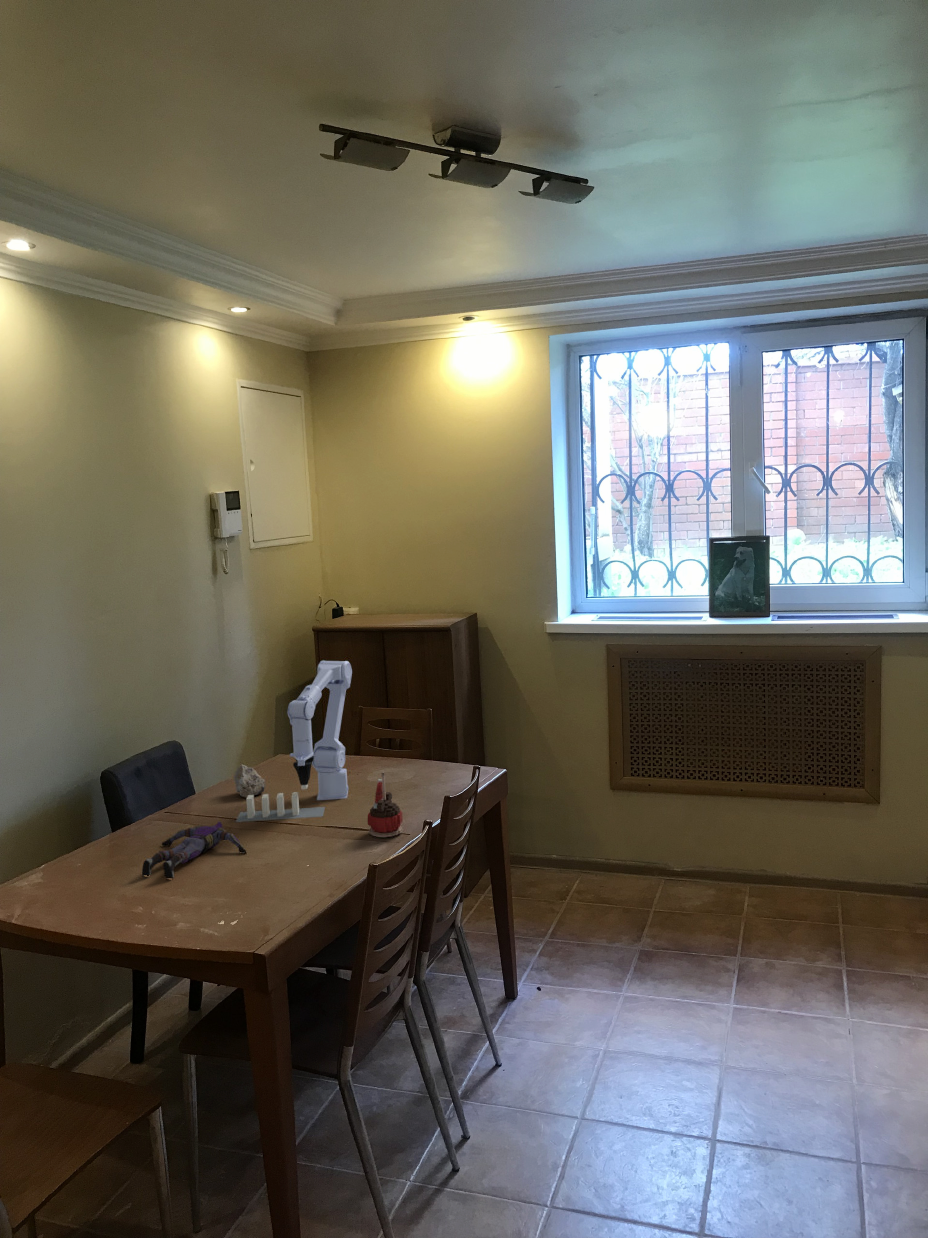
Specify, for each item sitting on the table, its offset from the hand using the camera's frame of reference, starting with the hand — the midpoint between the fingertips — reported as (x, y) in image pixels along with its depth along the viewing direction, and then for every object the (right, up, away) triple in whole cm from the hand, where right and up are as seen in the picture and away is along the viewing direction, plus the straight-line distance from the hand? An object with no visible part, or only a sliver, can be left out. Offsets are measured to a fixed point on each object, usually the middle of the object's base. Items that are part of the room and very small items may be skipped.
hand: (305, 782), depth 294 cm
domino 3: (-7, -10, -1) cm, 12 cm away
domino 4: (-3, -9, 0) cm, 10 cm away
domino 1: (-16, -10, -1) cm, 19 cm away
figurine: (-25, -15, -33) cm, 44 cm away
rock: (-22, -8, +20) cm, 31 cm away
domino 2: (-12, -10, -1) cm, 15 cm away
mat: (-7, -10, -1) cm, 12 cm away
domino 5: (0, -2, 0) cm, 2 cm away
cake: (+26, -11, -20) cm, 35 cm away
